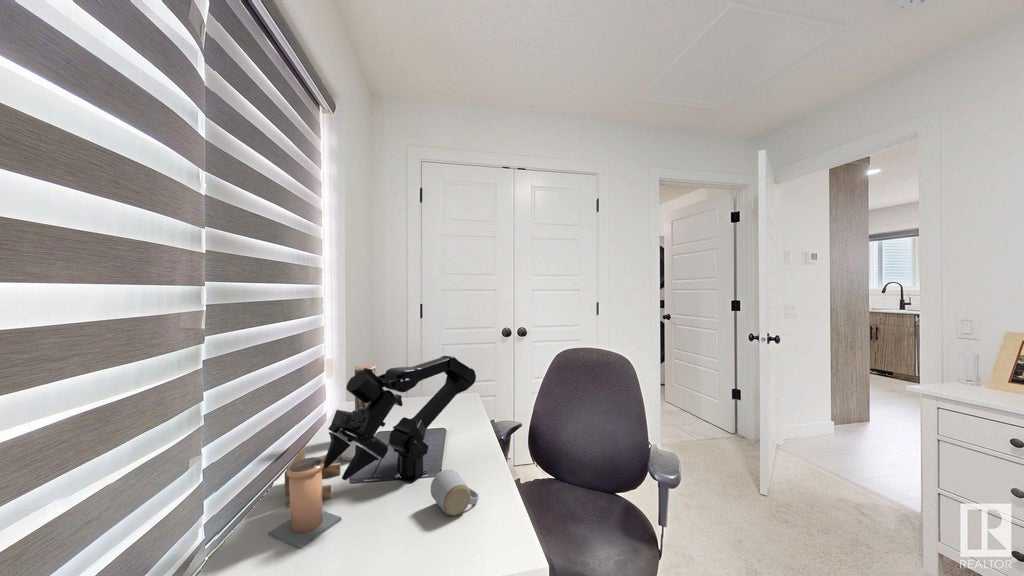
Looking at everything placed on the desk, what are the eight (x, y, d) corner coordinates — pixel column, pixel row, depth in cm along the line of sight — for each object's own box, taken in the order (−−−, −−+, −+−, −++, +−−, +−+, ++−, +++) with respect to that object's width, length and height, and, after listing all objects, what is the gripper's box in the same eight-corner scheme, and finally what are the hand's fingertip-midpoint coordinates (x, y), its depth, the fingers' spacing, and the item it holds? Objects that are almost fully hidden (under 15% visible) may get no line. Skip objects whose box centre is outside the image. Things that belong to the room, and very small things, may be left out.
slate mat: (341, 520, 82) (341, 517, 82) (299, 548, 73) (299, 545, 73) (311, 509, 86) (311, 506, 86) (268, 535, 77) (268, 532, 77)
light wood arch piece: (340, 473, 103) (340, 445, 103) (330, 498, 91) (330, 466, 91) (301, 478, 101) (300, 449, 101) (285, 505, 88) (284, 472, 88)
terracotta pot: (329, 511, 84) (327, 454, 84) (320, 532, 77) (318, 470, 77) (295, 516, 83) (293, 458, 83) (282, 537, 76) (280, 474, 76)
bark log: (371, 441, 125) (370, 368, 125) (351, 441, 125) (351, 368, 125) (379, 433, 131) (378, 364, 131) (360, 433, 131) (359, 364, 131)
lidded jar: (361, 464, 109) (361, 432, 109) (326, 464, 109) (325, 432, 109) (375, 448, 119) (375, 419, 119) (343, 448, 120) (343, 419, 120)
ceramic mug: (443, 523, 81) (444, 488, 81) (429, 505, 88) (430, 473, 88) (485, 507, 87) (485, 475, 87) (469, 491, 94) (469, 461, 94)
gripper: (335, 389, 94) (289, 447, 86) (375, 402, 83) (327, 471, 74) (364, 411, 101) (324, 467, 92) (405, 426, 89) (363, 492, 81)
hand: (333, 473), depth 85 cm, fingers open, 9 cm apart
